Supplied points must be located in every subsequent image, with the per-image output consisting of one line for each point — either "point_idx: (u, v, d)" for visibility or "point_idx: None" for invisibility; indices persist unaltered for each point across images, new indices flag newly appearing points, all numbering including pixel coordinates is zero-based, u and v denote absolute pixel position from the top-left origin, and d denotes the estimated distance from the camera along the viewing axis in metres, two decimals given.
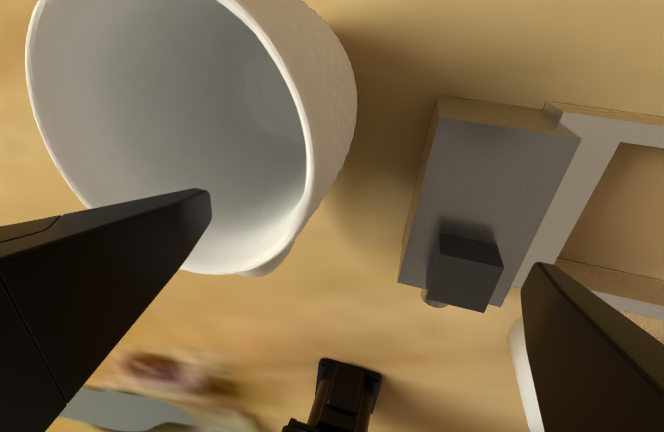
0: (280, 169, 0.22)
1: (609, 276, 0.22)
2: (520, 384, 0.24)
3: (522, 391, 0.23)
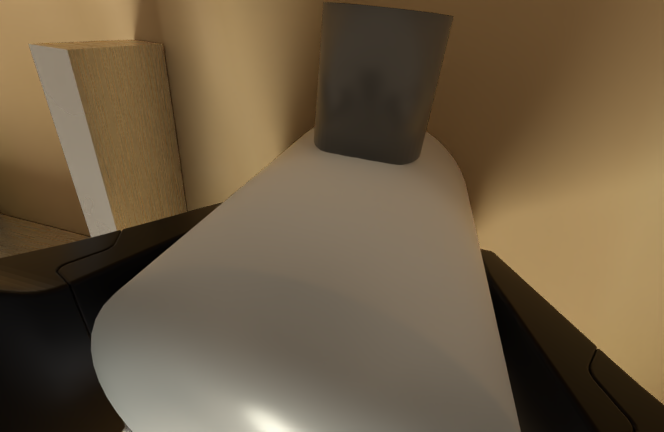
0: None
1: None
2: None
3: None
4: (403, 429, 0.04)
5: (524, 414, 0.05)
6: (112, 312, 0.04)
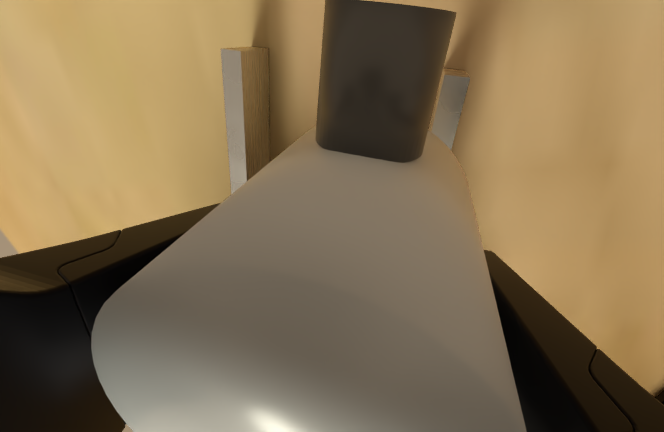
0: None
1: None
2: None
3: None
4: (407, 430, 0.04)
5: (524, 414, 0.05)
6: (113, 310, 0.04)
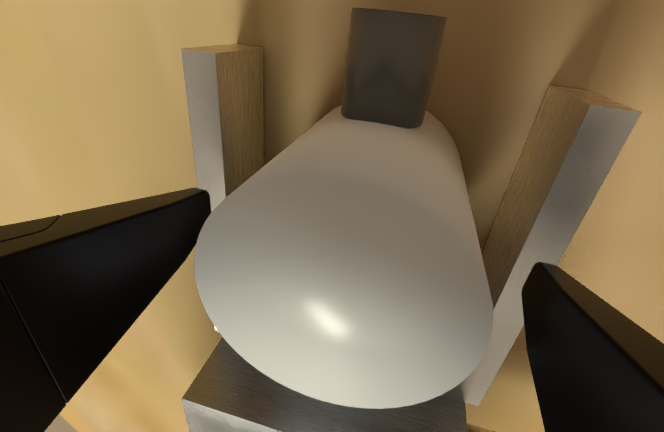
0: None
1: (512, 203, 0.11)
2: None
3: None
4: (412, 284, 0.06)
5: None
6: (219, 214, 0.06)
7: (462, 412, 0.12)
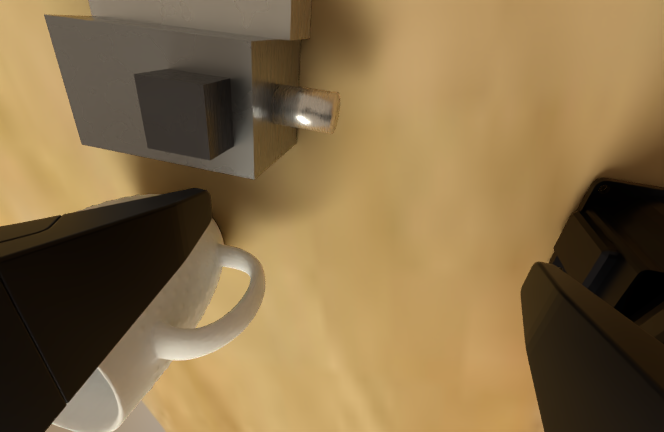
0: None
1: None
2: None
3: None
4: None
5: None
6: None
7: (274, 39, 0.16)
